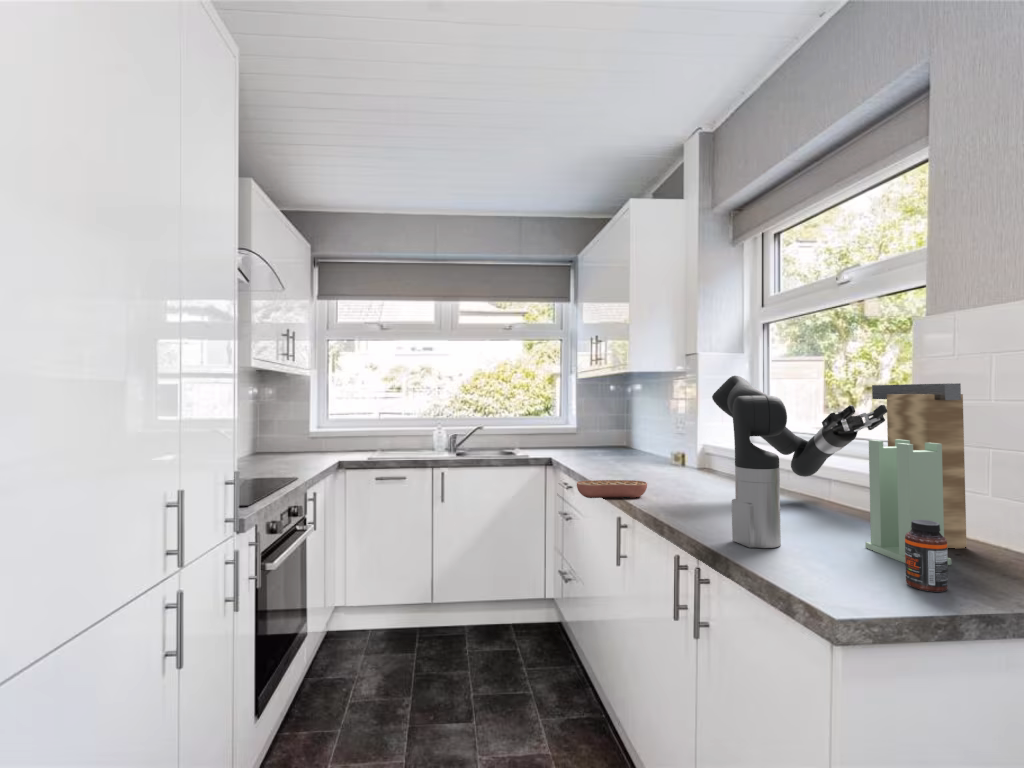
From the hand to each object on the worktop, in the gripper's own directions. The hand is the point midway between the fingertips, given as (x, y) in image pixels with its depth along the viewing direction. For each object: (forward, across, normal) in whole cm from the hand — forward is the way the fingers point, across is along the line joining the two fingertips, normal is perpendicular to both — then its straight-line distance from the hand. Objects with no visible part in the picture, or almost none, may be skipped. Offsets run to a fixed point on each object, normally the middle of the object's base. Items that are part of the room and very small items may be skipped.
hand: (869, 408), depth 143 cm
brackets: (+9, -13, +39) cm, 42 cm away
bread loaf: (-53, -57, +4) cm, 78 cm away
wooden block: (0, 0, +34) cm, 34 cm away
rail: (+14, 0, +5) cm, 14 cm away
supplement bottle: (+24, -23, +48) cm, 59 cm away
